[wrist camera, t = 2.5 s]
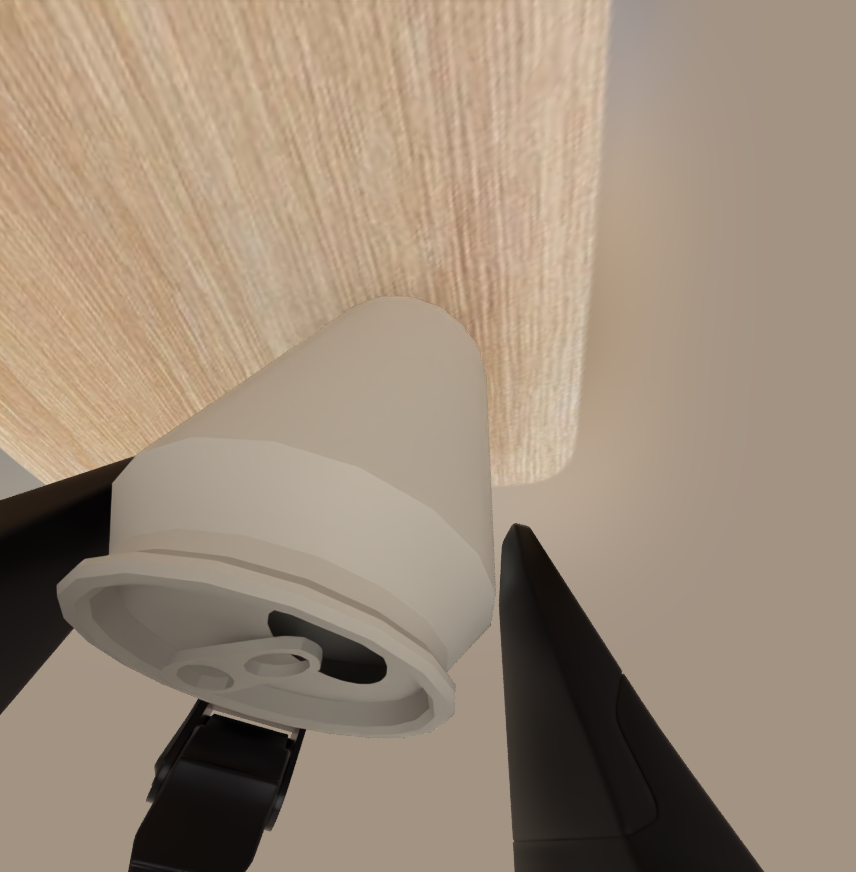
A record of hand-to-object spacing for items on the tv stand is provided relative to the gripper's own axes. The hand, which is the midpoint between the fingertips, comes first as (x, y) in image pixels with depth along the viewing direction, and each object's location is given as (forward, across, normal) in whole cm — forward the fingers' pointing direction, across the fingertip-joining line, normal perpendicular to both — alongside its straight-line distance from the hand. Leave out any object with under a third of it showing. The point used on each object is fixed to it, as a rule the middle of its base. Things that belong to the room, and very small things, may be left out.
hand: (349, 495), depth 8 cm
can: (+8, 0, 0) cm, 8 cm away
